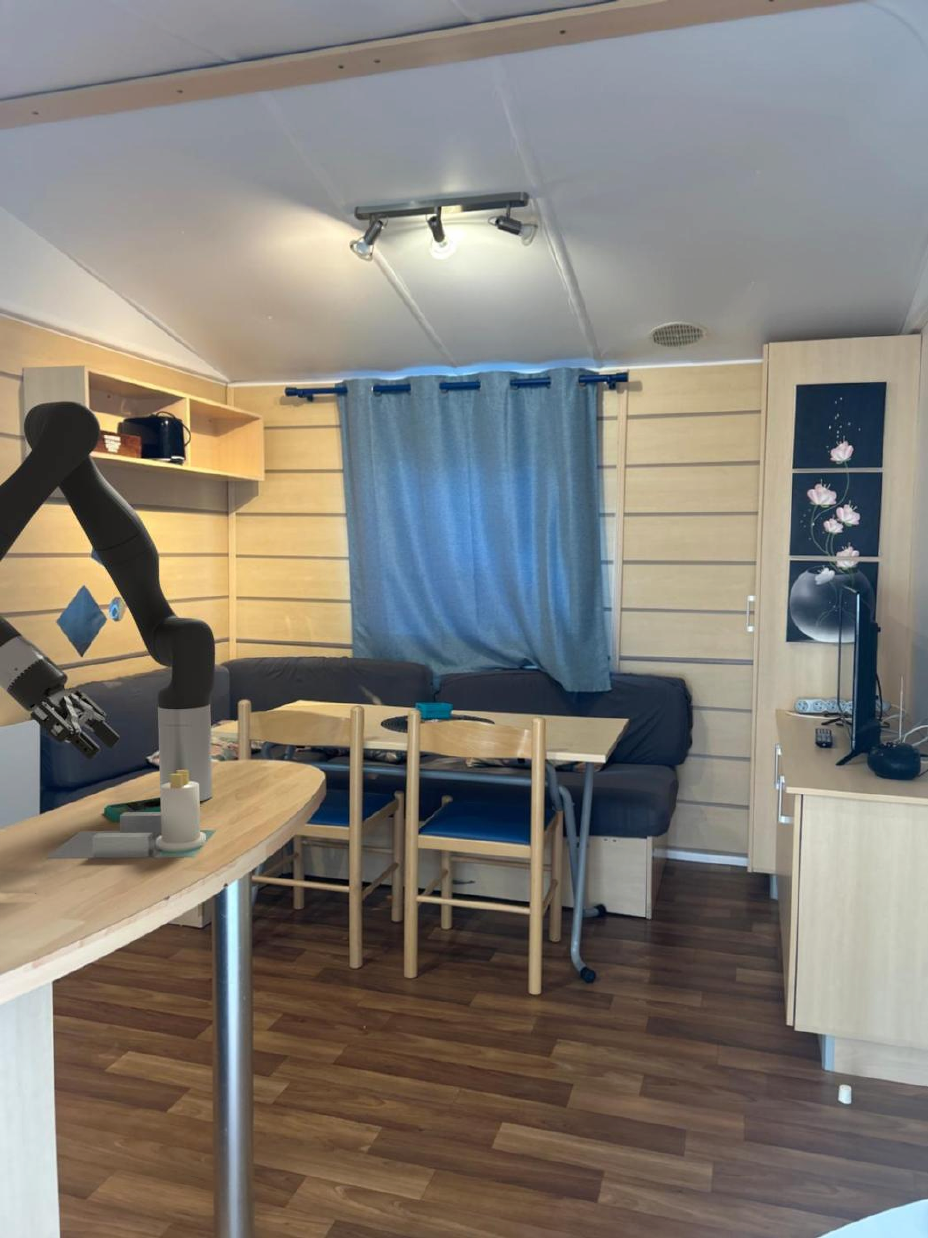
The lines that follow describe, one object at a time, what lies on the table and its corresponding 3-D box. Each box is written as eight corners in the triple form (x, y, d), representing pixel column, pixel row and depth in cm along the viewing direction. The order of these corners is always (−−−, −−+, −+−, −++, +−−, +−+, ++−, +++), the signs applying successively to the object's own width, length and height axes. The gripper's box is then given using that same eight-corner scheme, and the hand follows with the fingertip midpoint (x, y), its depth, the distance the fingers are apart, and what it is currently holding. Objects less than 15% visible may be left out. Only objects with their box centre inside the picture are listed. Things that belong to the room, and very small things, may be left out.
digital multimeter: (203, 815, 160) (203, 798, 160) (115, 831, 151) (115, 813, 151) (187, 806, 166) (187, 790, 165) (102, 821, 157) (102, 804, 156)
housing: (80, 837, 146) (80, 812, 146) (216, 836, 146) (216, 811, 146) (44, 865, 133) (43, 837, 133) (193, 863, 133) (193, 836, 133)
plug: (168, 836, 143) (166, 766, 142) (213, 837, 142) (211, 767, 142) (147, 851, 136) (145, 777, 135) (195, 852, 135) (193, 778, 134)
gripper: (21, 660, 130) (105, 741, 131) (63, 650, 145) (139, 722, 145) (-16, 698, 131) (69, 778, 132) (30, 684, 145) (107, 756, 146)
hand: (106, 748), depth 139 cm, fingers open, 7 cm apart
